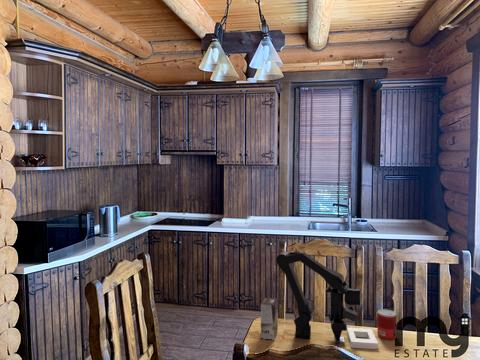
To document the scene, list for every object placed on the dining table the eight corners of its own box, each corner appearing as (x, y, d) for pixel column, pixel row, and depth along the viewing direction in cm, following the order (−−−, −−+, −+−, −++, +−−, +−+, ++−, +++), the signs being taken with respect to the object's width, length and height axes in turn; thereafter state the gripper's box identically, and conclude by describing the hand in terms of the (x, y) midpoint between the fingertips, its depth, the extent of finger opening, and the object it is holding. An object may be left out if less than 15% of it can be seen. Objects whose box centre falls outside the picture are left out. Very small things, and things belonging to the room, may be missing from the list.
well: (351, 347, 150) (351, 341, 150) (346, 332, 164) (346, 327, 164) (378, 349, 149) (378, 343, 148) (371, 334, 162) (371, 328, 162)
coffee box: (274, 341, 157) (274, 305, 156) (260, 339, 159) (260, 304, 158) (278, 332, 166) (277, 298, 165) (264, 330, 167) (264, 297, 167)
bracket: (335, 344, 153) (335, 328, 153) (334, 339, 158) (334, 324, 158) (344, 345, 152) (344, 329, 152) (343, 340, 157) (343, 324, 157)
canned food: (398, 341, 156) (398, 316, 156) (379, 339, 157) (379, 315, 157) (394, 333, 163) (394, 309, 163) (376, 331, 165) (376, 308, 165)
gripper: (359, 311, 144) (359, 349, 145) (352, 296, 163) (352, 329, 163) (331, 310, 146) (331, 347, 146) (327, 294, 165) (328, 327, 165)
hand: (336, 337), depth 155 cm, fingers open, 6 cm apart
